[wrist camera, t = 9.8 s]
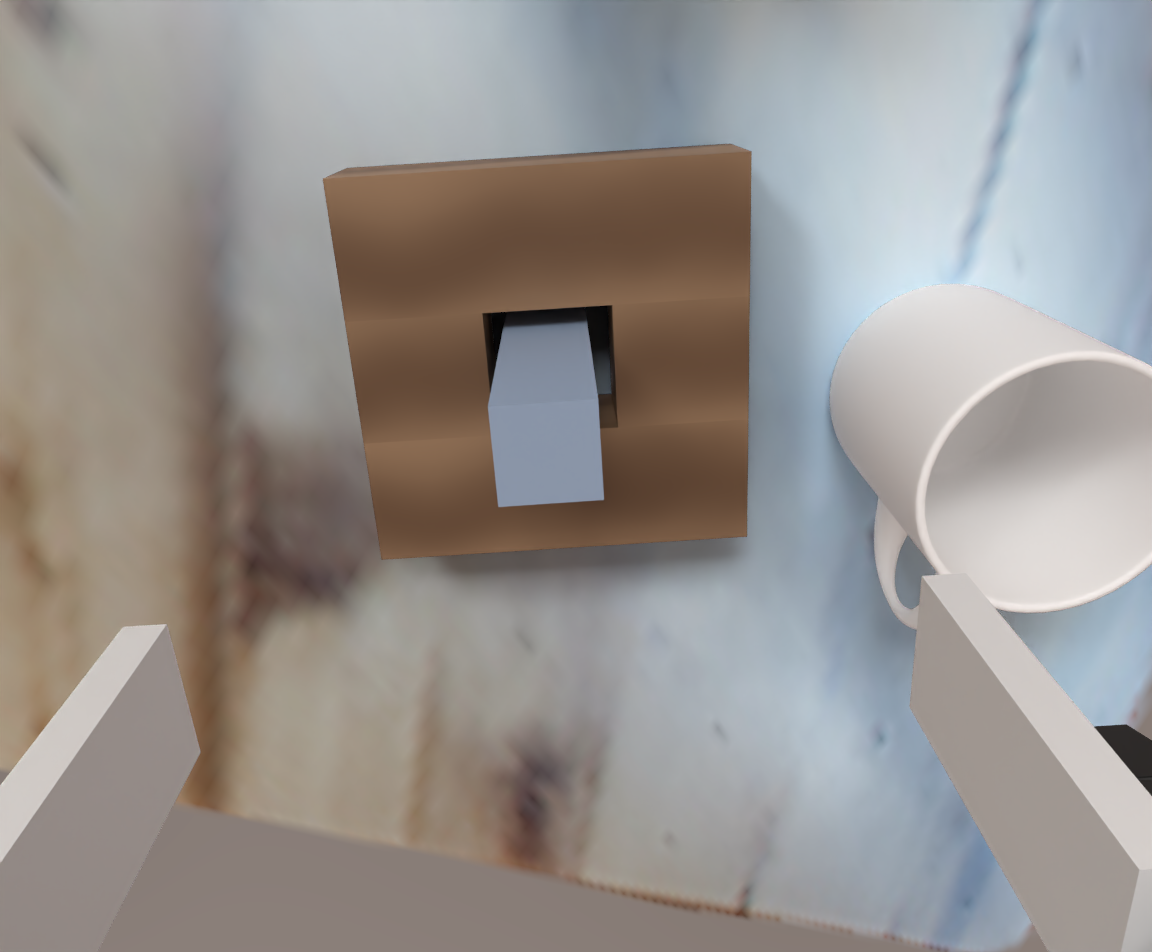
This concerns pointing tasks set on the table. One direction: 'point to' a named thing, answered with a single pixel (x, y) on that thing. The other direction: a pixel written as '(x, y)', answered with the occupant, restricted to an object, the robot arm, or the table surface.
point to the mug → (998, 447)
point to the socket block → (550, 281)
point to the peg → (545, 410)
